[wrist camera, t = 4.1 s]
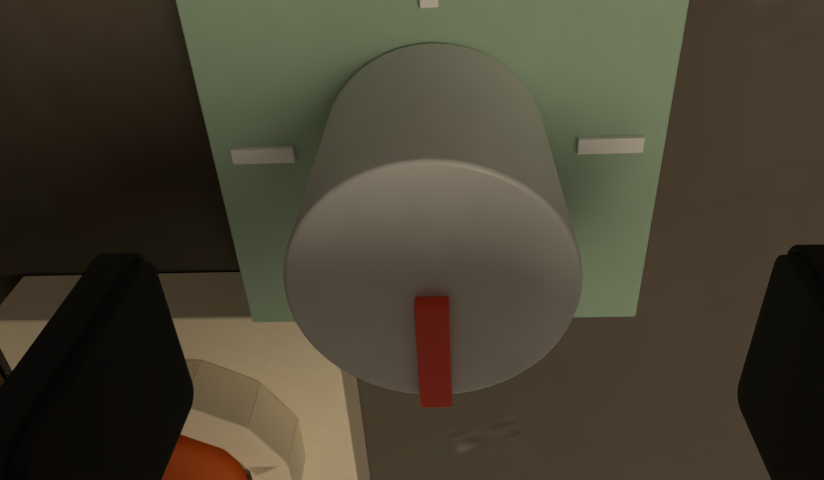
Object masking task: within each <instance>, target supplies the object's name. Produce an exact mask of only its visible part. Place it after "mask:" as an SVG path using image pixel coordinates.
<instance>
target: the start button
mask: <svg viewBox="0 0 824 480" xmlns="http://www.w3.org/2000/svg"><path fill="white" fill-rule="evenodd" d="M162 480H247V476H246V473H245V471H244V469H243V467H242V466H241V464H240V463H239V462H238V461H237V460H236V459H235V458H234V457H233V456H231V455H230V454H229V453H228V452H227V451H225V450H224V449H222V448H219V447H216V446H213V445H210V444H207V443H204V442H201V441H198V440H195V439H192V438H189V437H187V436H184V435H181V434H180V436H179V439H178V441H177V444H176V446H175V449H174V451H173V453H172V456H171V458H170V461H169V463H168V466H167V468H166V470H165V473H164V475H163V478H162Z"/></svg>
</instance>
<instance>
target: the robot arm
mask: <svg viewBox="0 0 824 480" xmlns="http://www.w3.org/2000/svg"><path fill="white" fill-rule="evenodd" d="M193 398H194V387H193V382H192V379H191V376H190V373H189V370H188V367H187V364H186V360H185V357H184V354H183V351H182V348H181V345H180V342H179V339H178V335H177V332H176V329H175V326H174V323H173V320H172V317H171V313H170V310H169V307H168V304H167V301H166V298H165V295H164V292H163V288H162V285H161V282H160V279H159V276H158V273H157V270H156V267H155V265H154V264H153V263H151V262H145V260H144V258H143V257H142V256H141V255H140V254H138V253H102V254H99V255H98V256H97V257H96V258H95V259H94V260H93V261H92V263H91V264H90V265H89V267H88V268H87V270H86V271H85V272H84V274H83V275H82V276H81V278H80V279H79V280H78V282H77V283H76V285H75V286H74V287H73V289H72V290H71V291H70V293H69V294H68V295H67V297H66V298H65V300H64V301H63V302H62V304H61V305H60V306H59V308H58V309H57V311H56V312H55V313H54V315H53V316H52V317H51V319H50V320H49V321H48V323H47V324H46V326H45V327H44V328H43V330H42V331H41V332H40V334H39V335H38V337H37V338H36V339H35V341H34V342H33V343H32V345H31V346H30V347H29V349H28V350H27V352H26V353H25V354H24V356H23V357H22V358H21V360H20V361H19V362H18V364H17V365H16V367H15V368H14V369H13V371H12V372H11V373H10V375H9V376H8V378H7V379H6V380H5V382H4V383H3V384H2V386H1V387H0V480H162V478H163V475H164V473H165V470H166V468H167V466H168V463H169V461H170V458H171V456H172V453H173V451H174V449H175V446H176V444H177V441H178V439H179V436H180V434H181V432H182V429H183V427H184V424H185V422H186V419H187V417H188V414H189V412H190V410H191V407H192V404H193ZM738 402H739V407H740V409H741V412H742V414H743V417H744V419H745V421H746V423H747V426H748V428H749V430H750V432H751V435H752V437H753V439H754V442H755V444H756V446H757V448H758V451H759V453H760V455H761V457H762V460H763V462H764V464H765V466H766V469H767V471H768V473H769V476H770V478H771V480H824V245H795V246H792V248H791V249H790V250H789V251H788V254H787V255H780V256H778V258H777V259H776V261H775V263H774V266H773V270H772V273H771V276H770V280H769V283H768V287H767V290H766V293H765V297H764V300H763V303H762V307H761V310H760V314H759V317H758V320H757V324H756V327H755V330H754V334H753V337H752V340H751V344H750V347H749V351H748V354H747V357H746V361H745V364H744V367H743V371H742V374H741V377H740V381H739V385H738Z"/></svg>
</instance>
